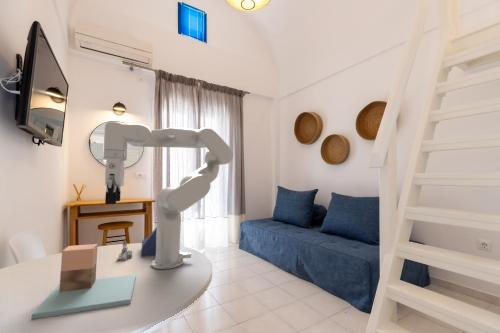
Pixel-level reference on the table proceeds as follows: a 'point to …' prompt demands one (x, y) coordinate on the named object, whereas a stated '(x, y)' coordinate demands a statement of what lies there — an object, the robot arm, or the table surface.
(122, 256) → the miniature building cluster
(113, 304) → the board
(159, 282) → the table surface
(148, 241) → the blue angular block
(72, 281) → the walnut brick
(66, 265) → the terracotta brick
